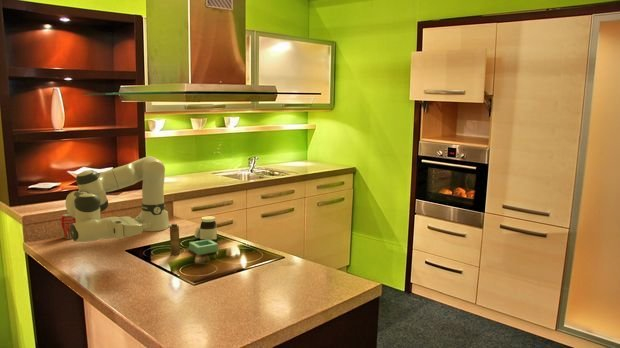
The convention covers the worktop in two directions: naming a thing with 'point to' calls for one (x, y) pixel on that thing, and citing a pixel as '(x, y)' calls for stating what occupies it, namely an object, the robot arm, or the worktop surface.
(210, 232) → the spread jar
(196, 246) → the teal square tray
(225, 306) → the worktop surface
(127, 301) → the worktop surface
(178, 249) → the brown textured cylinder
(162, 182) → the robot arm
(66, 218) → the soda can
